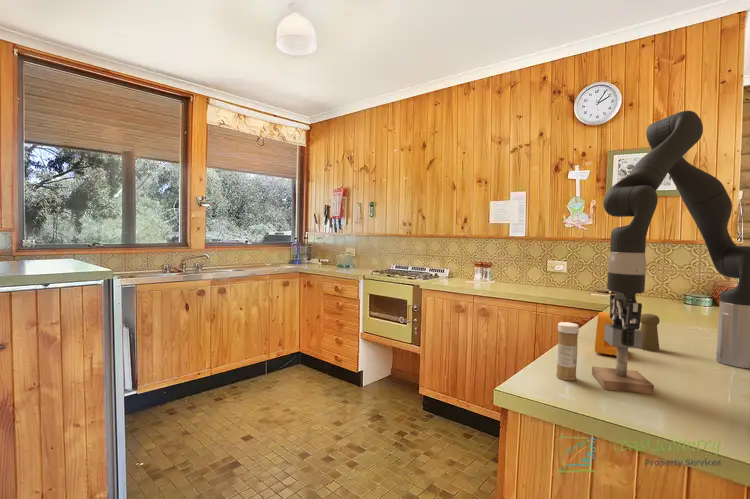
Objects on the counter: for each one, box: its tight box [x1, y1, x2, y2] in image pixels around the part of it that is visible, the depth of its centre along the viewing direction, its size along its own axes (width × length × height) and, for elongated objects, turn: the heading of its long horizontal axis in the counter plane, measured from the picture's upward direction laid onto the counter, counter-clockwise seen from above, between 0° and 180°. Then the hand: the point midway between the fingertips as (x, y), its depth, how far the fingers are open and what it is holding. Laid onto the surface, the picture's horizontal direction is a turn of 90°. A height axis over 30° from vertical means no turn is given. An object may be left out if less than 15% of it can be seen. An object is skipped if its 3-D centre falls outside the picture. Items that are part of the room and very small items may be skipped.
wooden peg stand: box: [591, 347, 655, 395], centre depth 95 cm, size 10×10×9 cm
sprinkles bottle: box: [555, 321, 580, 381], centre depth 98 cm, size 5×5×14 cm
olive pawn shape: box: [639, 313, 661, 352], centre depth 126 cm, size 6×6×11 cm
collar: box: [604, 324, 643, 350], centre depth 95 cm, size 6×6×4 cm
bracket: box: [594, 311, 617, 357], centre depth 120 cm, size 11×7×12 cm, turn 142°
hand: (622, 341), depth 95 cm, fingers closed on collar, 6 cm apart
